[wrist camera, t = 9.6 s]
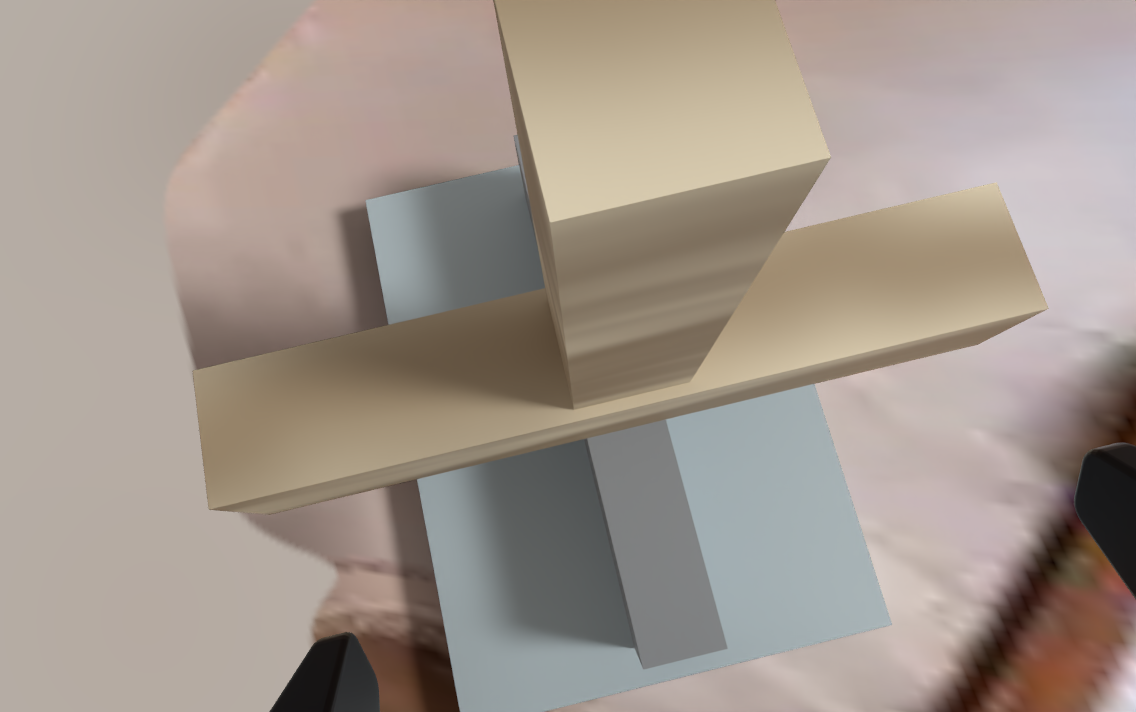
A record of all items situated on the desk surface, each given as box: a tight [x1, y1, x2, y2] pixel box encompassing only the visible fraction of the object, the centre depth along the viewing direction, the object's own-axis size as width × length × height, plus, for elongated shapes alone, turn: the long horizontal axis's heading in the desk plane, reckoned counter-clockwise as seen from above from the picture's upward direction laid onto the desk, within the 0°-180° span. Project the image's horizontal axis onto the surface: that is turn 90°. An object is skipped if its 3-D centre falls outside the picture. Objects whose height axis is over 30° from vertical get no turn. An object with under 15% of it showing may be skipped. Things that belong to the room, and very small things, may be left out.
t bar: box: [193, 0, 1049, 515], centre depth 13 cm, size 3×18×12 cm, turn 103°
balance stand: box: [366, 135, 892, 712], centre depth 21 cm, size 16×12×4 cm
